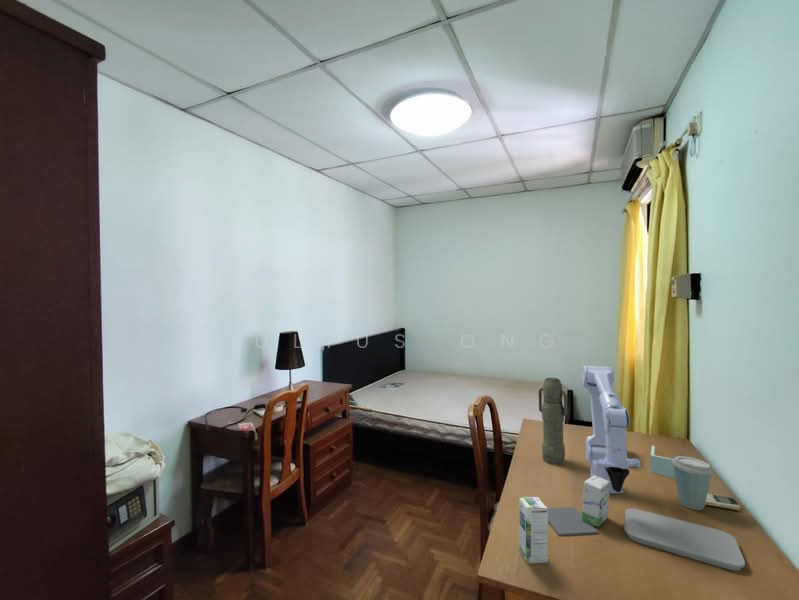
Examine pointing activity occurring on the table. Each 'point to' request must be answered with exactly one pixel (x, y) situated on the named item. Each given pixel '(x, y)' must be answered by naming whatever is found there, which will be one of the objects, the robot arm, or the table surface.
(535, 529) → the syrup box
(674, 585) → the table surface
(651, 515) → the tablet
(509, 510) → the table surface
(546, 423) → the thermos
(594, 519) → the ink box
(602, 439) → the robot arm
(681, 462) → the disposable coffee cup
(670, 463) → the l-shaped corner panel
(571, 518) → the mat
